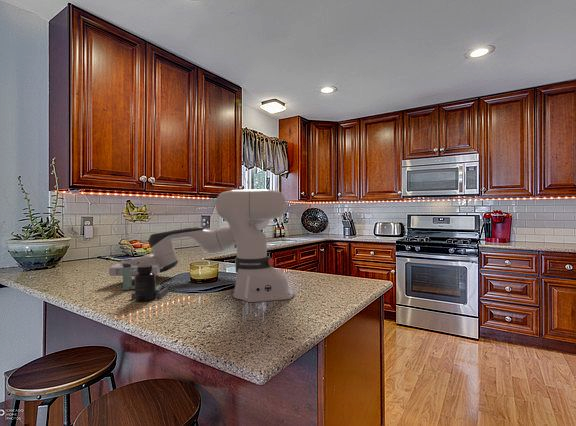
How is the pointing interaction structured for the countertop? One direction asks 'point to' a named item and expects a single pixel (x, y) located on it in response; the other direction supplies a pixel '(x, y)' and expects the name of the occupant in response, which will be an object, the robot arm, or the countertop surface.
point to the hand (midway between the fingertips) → (126, 274)
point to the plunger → (128, 278)
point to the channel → (159, 294)
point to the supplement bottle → (145, 284)
